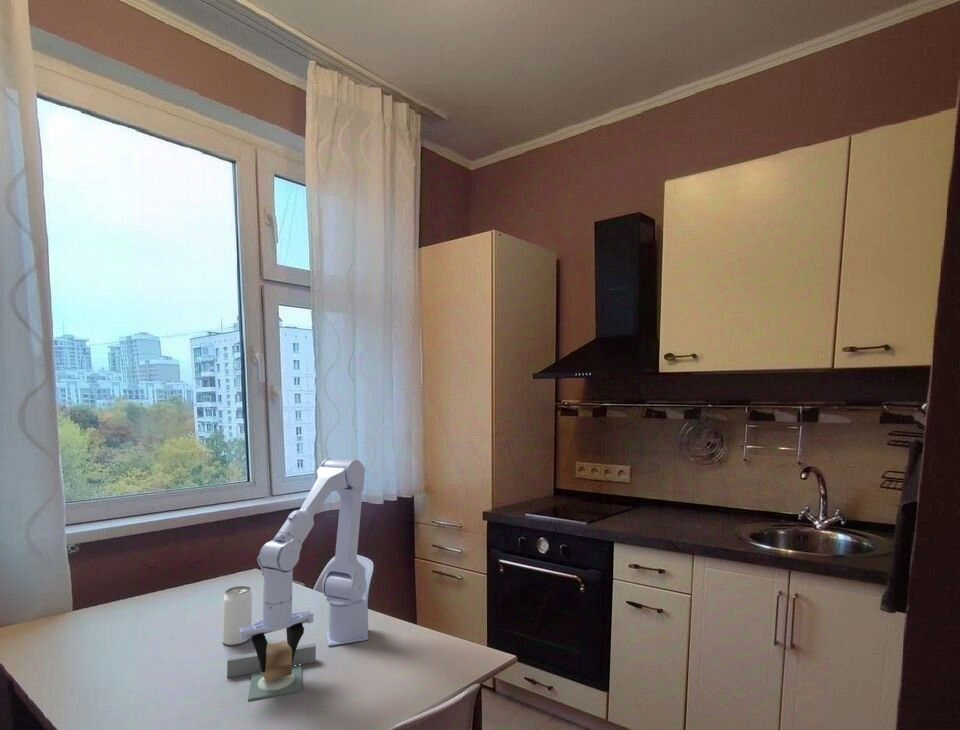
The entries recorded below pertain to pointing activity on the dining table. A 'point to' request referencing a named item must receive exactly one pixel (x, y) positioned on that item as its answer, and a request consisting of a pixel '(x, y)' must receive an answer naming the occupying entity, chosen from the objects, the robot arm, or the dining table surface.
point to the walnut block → (278, 661)
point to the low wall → (251, 662)
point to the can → (236, 613)
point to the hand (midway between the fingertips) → (276, 665)
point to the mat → (275, 684)
